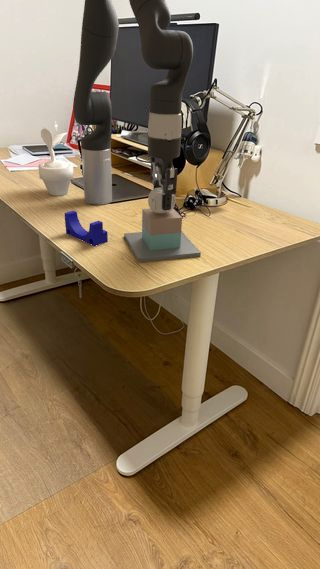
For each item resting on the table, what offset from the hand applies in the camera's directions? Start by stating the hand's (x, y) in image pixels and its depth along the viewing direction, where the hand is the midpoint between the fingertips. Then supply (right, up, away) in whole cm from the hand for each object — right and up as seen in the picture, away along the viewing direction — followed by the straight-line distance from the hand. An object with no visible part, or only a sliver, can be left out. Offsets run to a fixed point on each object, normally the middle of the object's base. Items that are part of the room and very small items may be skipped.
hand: (161, 204), depth 98 cm
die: (0, -1, +1) cm, 2 cm away
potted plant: (-36, +12, +42) cm, 57 cm away
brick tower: (0, -10, +5) cm, 11 cm away
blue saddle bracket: (-20, -7, +9) cm, 23 cm away
